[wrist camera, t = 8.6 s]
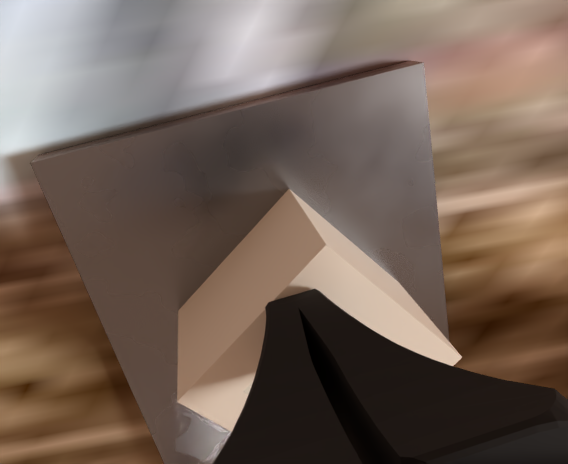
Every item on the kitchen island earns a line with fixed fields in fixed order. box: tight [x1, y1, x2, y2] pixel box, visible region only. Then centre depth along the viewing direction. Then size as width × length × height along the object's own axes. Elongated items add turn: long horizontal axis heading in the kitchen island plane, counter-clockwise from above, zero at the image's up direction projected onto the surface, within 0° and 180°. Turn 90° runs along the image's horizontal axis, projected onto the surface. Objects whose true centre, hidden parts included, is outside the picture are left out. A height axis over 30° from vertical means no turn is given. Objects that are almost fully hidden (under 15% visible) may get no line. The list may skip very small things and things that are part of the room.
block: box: [177, 189, 462, 432], centre depth 15 cm, size 6×6×4 cm
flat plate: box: [30, 61, 449, 464], centre depth 16 cm, size 14×12×4 cm
